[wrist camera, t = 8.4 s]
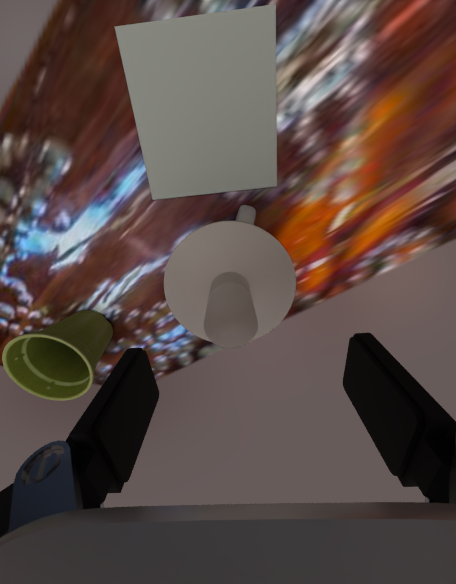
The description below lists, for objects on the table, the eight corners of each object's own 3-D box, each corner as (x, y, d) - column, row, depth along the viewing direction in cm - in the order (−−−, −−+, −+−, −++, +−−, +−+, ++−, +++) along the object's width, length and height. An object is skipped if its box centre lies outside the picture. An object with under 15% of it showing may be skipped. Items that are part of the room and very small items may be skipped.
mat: (274, 7, 19) (275, 4, 19) (276, 186, 25) (276, 186, 24) (116, 30, 19) (114, 26, 19) (153, 199, 25) (152, 199, 25)
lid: (294, 213, 18) (331, 223, 12) (291, 333, 23) (316, 386, 17) (153, 227, 19) (114, 244, 12) (179, 342, 23) (161, 397, 17)
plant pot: (55, 293, 30) (-8, 328, 22) (125, 304, 31) (89, 342, 23) (62, 347, 33) (11, 394, 26) (125, 356, 34) (94, 405, 26)
